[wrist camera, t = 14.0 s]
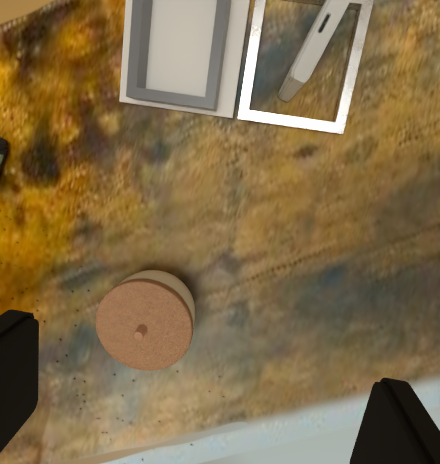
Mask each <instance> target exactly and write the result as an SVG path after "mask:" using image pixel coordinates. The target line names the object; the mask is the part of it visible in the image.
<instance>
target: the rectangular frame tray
mask: <svg viewBox="0 0 440 464" xmlns="http://www.w3.org/2000/svg"><path fill="white" fill-rule="evenodd" d="M284 1H292V2H300V3H308V4H316V5H324V3H325V1H326V0H284ZM373 1H374V0H351V1H350V3H349V5H348V7H347V9H355V10H357V14H356V18H355V23H354V28H353V32H352V37H351V41H350V46H349V50H348V55H347V60H346V64H345V69H344V73H343V78H342V82H341V87H340V92H339V96H338V101H337V105H336V110H335V114H334V119H333V122H328V121H321V120H314V119H308V118H301V117H294V116H287V115H280V114H273V113H266V112H259V111H252V110H249V106H250V100H251V93H252V87H253V81H254V74H255V68H256V61H257V55H258V49H259V42H260V36H261V30H262V23H263V17H264V11H265V4H266V0H255V6H254V13H253V20H252V26H251V33H250V40H249V46H248V53H247V60H246V66H245V73H244V80H243V86H242V93H241V100H240V106H239V113H238V119H239V120H246V121H253V122H260V123H267V124H273V125H280V126H287V127H294V128H301V129H308V130H314V131H321V132H328V133H335V134H343V132H344V128H345V123H346V119H347V115H348V110H349V106H350V101H351V97H352V93H353V88H354V84H355V79H356V75H357V71H358V66H359V62H360V58H361V53H362V49H363V44H364V40H365V36H366V31H367V27H368V22H369V18H370V14H371V9H372V5H373Z"/></svg>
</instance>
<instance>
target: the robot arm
mask: <svg viewBox="0 0 440 464" xmlns="http://www.w3.org/2000/svg"><path fill="white" fill-rule="evenodd" d="M38 352H39V323H38V320H36V319H34V316H33V314H32V313H29V312H23V311H18V310H8V311H6V312H5V313H3V314H2V315H0V452H1V451H2V450H3V449H4V447H5V446H6V445H7V444H8V443H9V441H10V440H11V439H12V438H13V436H14V435H15V434H16V433H17V432H18V430H19V429H20V428H21V427H22V425H23V424H24V423H25V422H26V421H27V419H28V418H29V417H30V416H31V414H32V413H33V412H34V410H35V408H36V405H37V402H38ZM350 464H440V431H439V429H438V428H437V426H436V425H435V423H434V422H433V420H432V419H431V417H430V415H429V414H428V412H427V411H426V409H425V408H424V406H423V404H422V403H421V401H420V400H419V398H418V397H417V395H416V394H415V392H414V391H413V389H412V388H411V386H410V385H409V383H408V382H405V381H400V380H395V379H390V378H382V380H381V381H380V382H375V383H374V385H373V387H372V390H371V394H370V397H369V400H368V403H367V407H366V410H365V413H364V416H363V420H362V423H361V426H360V430H359V433H358V436H357V439H356V442H355V446H354V449H353V452H352V456H351V459H350Z"/></svg>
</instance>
